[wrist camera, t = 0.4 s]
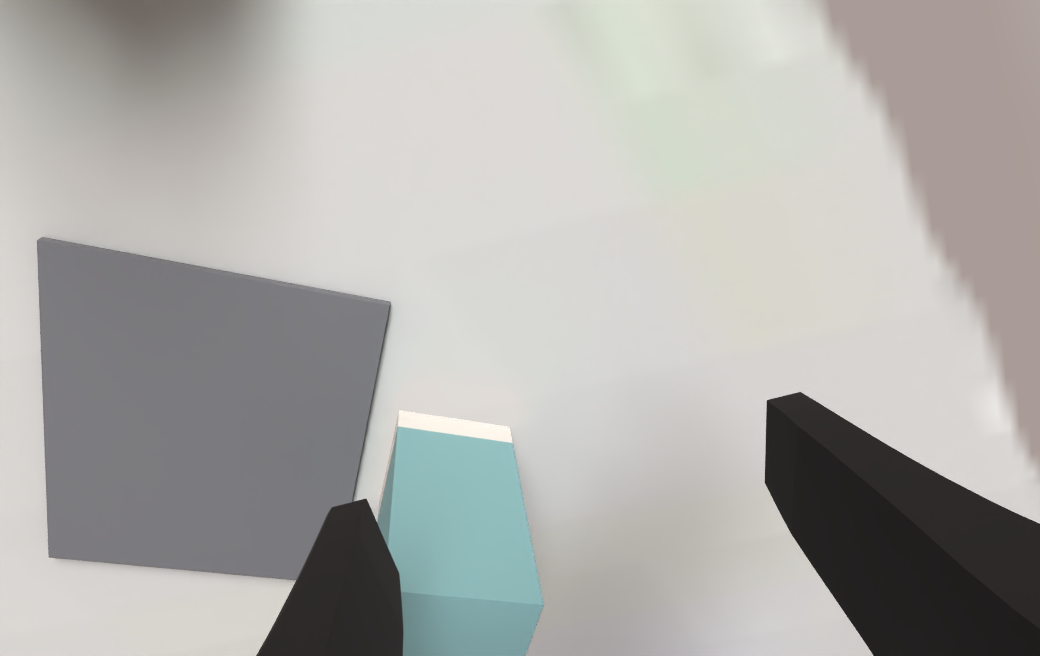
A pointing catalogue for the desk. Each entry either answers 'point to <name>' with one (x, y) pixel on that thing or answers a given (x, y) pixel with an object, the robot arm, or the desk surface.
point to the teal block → (459, 538)
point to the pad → (197, 410)
